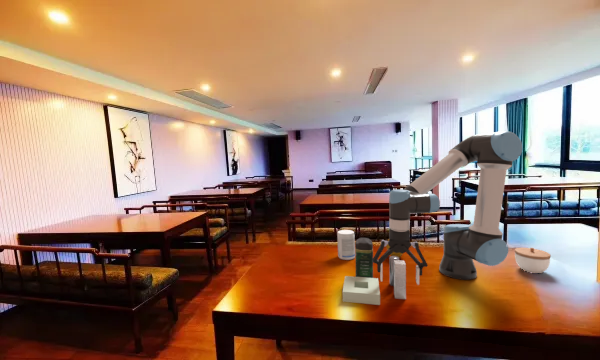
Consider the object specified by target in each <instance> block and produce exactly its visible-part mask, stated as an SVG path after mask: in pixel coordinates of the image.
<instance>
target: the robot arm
mask: <svg viewBox="0 0 600 360" xmlns="http://www.w3.org/2000/svg"><path fill="white" fill-rule="evenodd" d="M522 152H523V143H522V139H520V138H519V137H518V135H517V134H516V133H514V132H512V131H508V130H507V131H505V130H504V131H495V132H494V131H493V132H487V133H479V134H475V135H471V136H469V137H467V138H465V139H464V140H462V141H461V142H459V143H458V144H456V145H455V146H454V147H453V148H451V149H450V150H449V151H448V152H447V155H446V156H445V157H444V158H442V159H440V160H439V161H437V163H436V164H434V165H433V166H432V167H429V169H427V170H426V171H425V172H424V173H423V174H421V175H419V177H417V178H416V179H415V180H414V181H412V182H411V183H409V184H408V185H407V186H406V187H405V188H402V189H401V188H400V189H391V190H390V192H389V198H388V205H389V208H388V211H389V225H388V226H389V229H388V230H389V232H388V233H389V234H388V236H389V238H388V239H389V241H388V240H384V239H381V240H380V245H379V247H378V249H377V250H376V251H375V255H373V264H376V267H377V269H376V270H377V272H378V273H380V274H379V275H380V276H379V277H380V278H379V279H380V282H383V278H384V275H383V272H384V271H383V270H384V269H383V262H384V261H386V260H387V259H388V258H389V257H390V256H391V255H390V254H392V253H393V252H395V253H403V254H404V253H406V254H407V255H408V256H409V257H410V259H412V260H413V262H414V263H415V264H416V265H415V282H416V285H417V286H419V285H420V277H421V276H423V269H424V268H425V267H426V268H427V267H428V265H429V264H428V262H427V261H426V259H425V257H424V255H423V253H422V252H421V250H420V246H419V245H420V244H419V242H418V241H417V240H415V241H412V242H411V239H410V238H411V237H410V235H411V231H410V229H411V224H410V223H411V221H410V220H411V215H412V214H431V213H436V212H438V211H439V210H440V207H441V201H440V198H439V197H438V195H437V194H435V193H429V192H430V191H431V190H432V189H434V188H436V187H437V186H438V185H439V184H440V183H442V182H443V181H444V180H445V179H447V178H448V177H450V176H452V174H453V173H455V172H456V171H457V170H459V169H460V168H464V167H466V166H468V165H469V164H471V163H473V162H476V165H477V166H478V167H479V169H480V170H479V171H480V172H479V177H478V187H477V196H476V200H475V201H476V202H475V211H474V217H473V224H471V225H470V224H463V223H462V224H461V223H455V224H454V223H452V224H451V223H450V224H446V225H445V226H444V228H443V255H442V258H441V260H440V263H439V266H438V267H439V272H440V273H441V274H442V275H444V276H446V277H449V278H452V279H456V280H473V279H476V278H477V277H478V271H477V268H476V265H475V263H474V261H475V262H477V263H480V264H483V265H485V266H489V267H493V266H498V265H500V264H501V263H502V262H505V260H506V259H507V256H508V254H509V245H508V244H507V242H506V241H505V240H504V239H503V232H502V231H501V230H500V229H499V228H500V221H501V220H500V219H501V215H502V214H501V213H502V207H503V198H504V190H505V183H506V175H507V170H508V169H510V168H512V166H513V162H514V161H516V160H518V159H519V158H520V156H521V155H522ZM387 244H388V245H389V246H390V248H389V249H388V250H387V249H386V251H385V252H384V253H383V254H382V252H383V250H384V249H385V247H387V246H386V245H387ZM411 247H413V248H414V249H415V251H416V252H417V255H418V256H419V258H420V259H418V258H417V257H416V256H415V255H414V253H412V251H411V250H410V248H411ZM419 260H421V261H419Z"/></svg>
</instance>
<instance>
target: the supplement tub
mask: <svg viewBox="0 0 600 360" xmlns="http://www.w3.org/2000/svg"><path fill="white" fill-rule="evenodd" d="M336 235H337V237H336V238H337V256H338V258H339V259H340V260H344V261H345V260H346V261H349V260H354V259H356V258H355V242H356V240H355V231H353V230H352V229H341V230H338V231H337V233H336Z"/></svg>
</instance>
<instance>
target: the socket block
mask: <svg viewBox="0 0 600 360" xmlns="http://www.w3.org/2000/svg"><path fill="white" fill-rule="evenodd" d="M379 283H380V282H379V278H378V277H377V278H376V277H373V278H366V277H356V276H352V275H351V276H350V275H345V276H344V281H343V286H342V302H343V303H346V302H347V303H357V304H366V305H374V306H375V305H376V306H380V305H381V292H380V291H381V290H380V284H379Z"/></svg>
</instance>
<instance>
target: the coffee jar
mask: <svg viewBox="0 0 600 360" xmlns="http://www.w3.org/2000/svg"><path fill="white" fill-rule="evenodd" d="M373 247H374V245H373V241H372V240H371V239H370V238H369V237H359V238H358V239H356V240H355V258H354V259H355V277H366V278H374V263H373V258H374V248H373Z"/></svg>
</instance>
